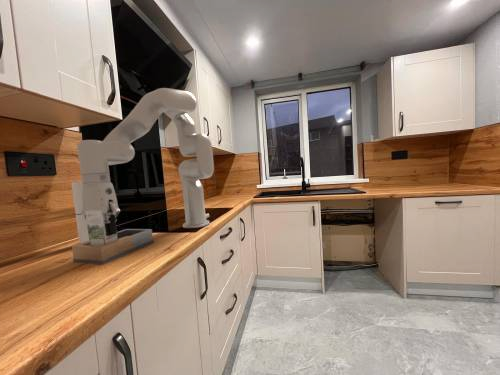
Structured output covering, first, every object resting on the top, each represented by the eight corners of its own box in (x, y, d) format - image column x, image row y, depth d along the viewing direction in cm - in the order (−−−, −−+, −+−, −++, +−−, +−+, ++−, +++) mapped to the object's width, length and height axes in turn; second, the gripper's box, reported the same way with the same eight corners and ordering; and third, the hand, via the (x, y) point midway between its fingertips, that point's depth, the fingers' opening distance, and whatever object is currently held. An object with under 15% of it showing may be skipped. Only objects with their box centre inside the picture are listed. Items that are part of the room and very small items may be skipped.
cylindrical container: (75, 247, 85) (66, 182, 84) (85, 242, 92) (77, 182, 91) (96, 245, 87) (88, 181, 85) (104, 239, 94) (97, 180, 92)
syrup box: (119, 248, 75) (114, 206, 74) (107, 255, 69) (101, 209, 68) (104, 249, 76) (98, 207, 75) (90, 256, 70) (84, 210, 69)
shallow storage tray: (127, 241, 88) (126, 229, 88) (153, 242, 84) (152, 229, 83) (73, 261, 69) (71, 246, 69) (103, 264, 65) (101, 247, 65)
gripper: (126, 177, 72) (133, 231, 73) (89, 180, 77) (95, 231, 79) (104, 178, 65) (112, 238, 66) (65, 182, 70) (72, 237, 72)
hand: (103, 234), depth 72 cm, fingers closed on syrup box, 6 cm apart
